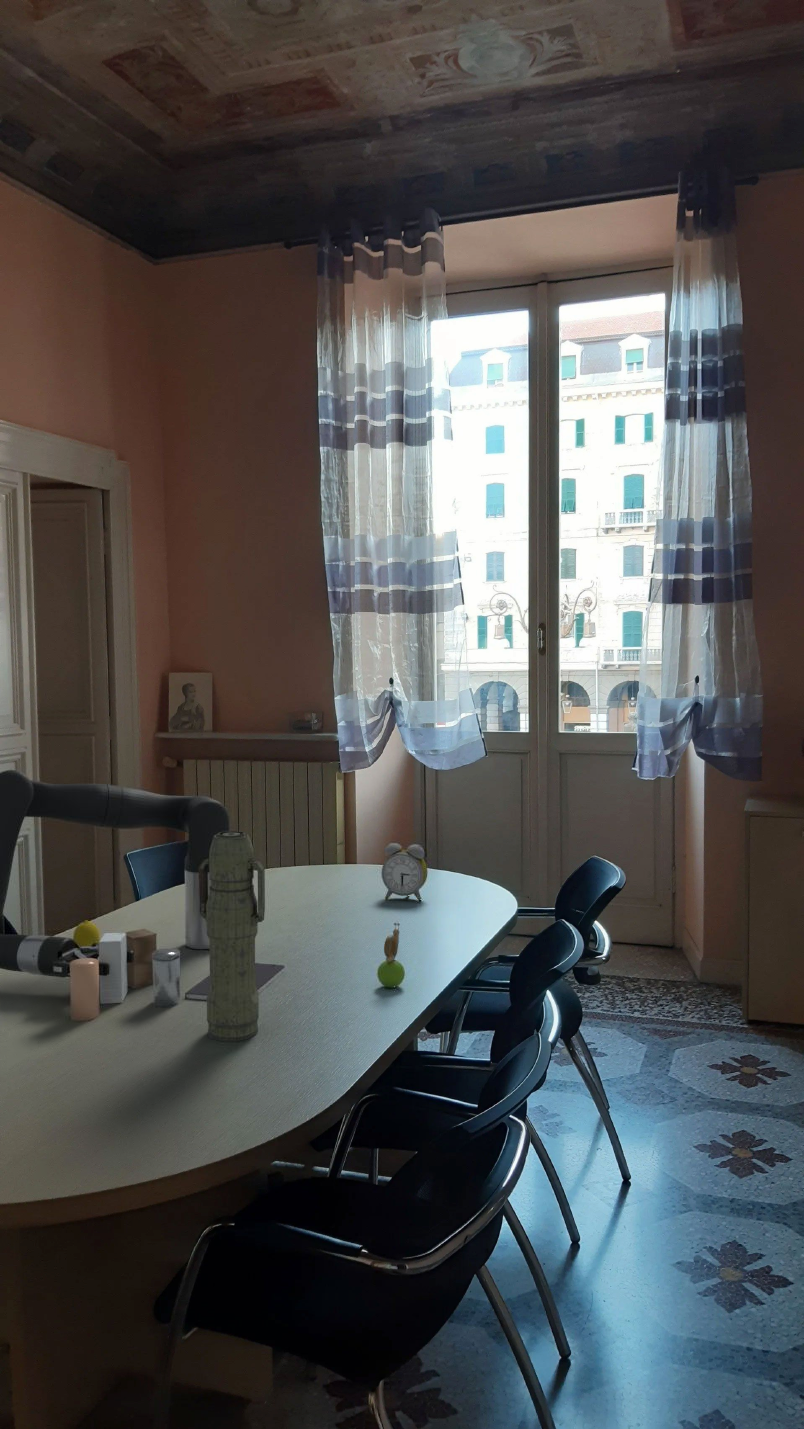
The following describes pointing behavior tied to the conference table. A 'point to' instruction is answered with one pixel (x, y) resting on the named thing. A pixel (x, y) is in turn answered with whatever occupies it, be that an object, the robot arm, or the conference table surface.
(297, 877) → the conference table surface
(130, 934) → the walnut block
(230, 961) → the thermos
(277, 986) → the conference table surface
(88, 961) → the peach rounded cylinder
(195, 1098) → the conference table surface
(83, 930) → the lemon
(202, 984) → the notebook
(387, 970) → the snail figurine
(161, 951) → the grey tin
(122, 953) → the skincare box
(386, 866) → the alarm clock
